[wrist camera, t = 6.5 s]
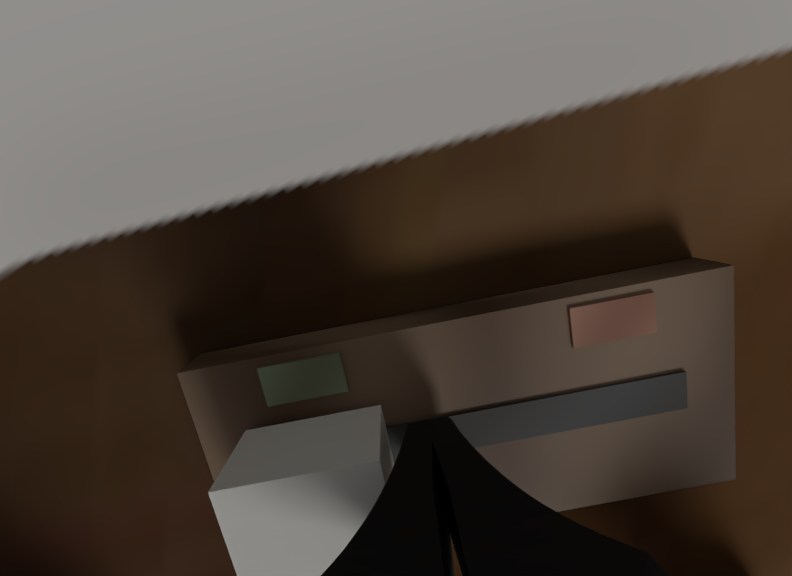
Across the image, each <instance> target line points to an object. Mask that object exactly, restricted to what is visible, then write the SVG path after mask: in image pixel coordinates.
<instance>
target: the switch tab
mask: <svg viewBox="0 0 792 576" xmlns="http://www.w3.org/2000/svg"><path fill="white" fill-rule="evenodd" d="M393 466H394V460H393V456H392V451H391V447H390V443H389V438H388V434H387V429H386V425H385V420H384V416H383V411H382V407H381V405H377V406H372V407H366V408H361V409H356V410H351V411H345V412H340V413H335V414H330V415H324V416H319V417H314V418H309V419H303V420H298V421H293V422H288V423H282V424H277V425H272V426H267V427H261V428H256V429H251V430H246V431H245V432H244V434H243V436H242V437H241V439H240V441H239V442H238V444H237V445H236V447H235V449H234V450H233V452H232V454H231V455H230V457H229V459H228V460H227V462H226V464H225V465H224V467H223V469H222V470H221V472H220V474H219V475H218V477H217V479H216V480H215V482H214V483H213V485H212V487H211V488H210V490H209V492H208V494H209V497H210V500H211V502H212V505H213V508H214V511H215V514H216V517H217V520H218V522H219V525H220V528H221V531H222V534H223V537H224V540H225V542H226V545H227V548H228V551H229V554H230V557H231V560H232V562H233V565H234V568H235V571H236V574H237V576H321V575H322V574H323V573H324V572H325V570H326V569H327V568H328V567H329V566H330V565H331V564H332V563H333V561H334V560H335V559H336V558H337V557H338V556H339V555H340V553H341V552H342V551H343V550H344V548H345V547H346V546H347V544H348V543H349V542H350V540H351V539H352V538H353V536H354V535H355V533H356V532H357V531H358V529H359V528H360V526H361V525H362V524H363V522H364V520H365V519H366V517H367V516H368V514H369V513H370V511H371V509H372V508H373V506H374V504H375V503H376V501H377V499H378V497H379V495H380V493H381V491H382V489H383V487H384V485H385V483H386V481H387V479H388V477H389V475H390V473H391V471H392V468H393Z"/></svg>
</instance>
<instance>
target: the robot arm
mask: <svg viewBox="0 0 792 576" xmlns="http://www.w3.org/2000/svg"><path fill="white" fill-rule="evenodd" d="M450 534H451V537H452V541H453V544H454V548H455V551H456V554H457V558H458V561H459V565H460V568H461V572H462V575H463V576H669V575H668V574H667V573H666V571H665V570H664V569H663V568H662V567H661V566H660V565H659V564H658V563H657V562H656V561H655V560H654V559H653V558H652V556H651V555H650V554H648V553H647V552H644V551H642V550H639V549H637V548H634V547H631V546H629V545H626V544H624V543H621V542H619V541H616V540H614V539H611V538H609V537H606V536H604V535H601V534H599V533H597V532H595V531H593V530H591V529H588V528H586V527H584V526H582V525H580V524H578V523H576V522H574V521H572V520H570V519H568V518H566V517H565V516H563V515H561V514H559V513H558V512H556V511H554V510H553V509H551V508H549V507H547V506H546V505H544V504H542V503H541V502H539V501H538V500H536V499H535V498H533V497H532V496H530V495H529V494H527V493H526V492H524V491H523V490H522V489H520V488H519V487H518V486H516V485H515V484H514V483H512V482H511V481H510V480H509V479H507V478H506V477H505V476H504V475H503V474H501V473H500V472H499V471H498V470H497V469H496V468H495V467H494V466H492V465H491V464H490V463H489V462H488V461H487V460H486V459H485V458H484V457H483V456H482V455H481V454H480V453H479V452H478V451H477V450H476V449H475V448H474V447H473V446H472V445H471V444H470V442H469V441H468V440H467V439H466V438H465V437H464V435H463V434H462V433H461V432H460V430H459V429H458V428H457V426H456V425H455V423H454V422H453V420H452V419H451V418H449V417H448V416H447V417H441V418H436V419H431V420H425V421H420V422H415V423H410V424H408V426H407V427H406V430H405V434H404V438H403V442H402V445H401V448H400V451H399V453H398V456H397V458H396V461H395V463H394V466H393V468H392V471H391V473H390V475H389V477H388V479H387V481H386V483H385V485H384V487H383V489H382V491H381V493H380V495H379V497H378V499H377V501H376V503H375V504H374V506H373V508H372V509H371V511H370V513H369V514H368V516H367V517H366V519H365V520H364V522H363V524H362V525H361V526H360V528H359V529H358V531H357V532H356V533H355V535H354V536H353V538H352V539H351V540H350V542H349V543H348V544H347V546H346V547H345V548H344V550H343V551H342V552H341V553H340V555H339V556H338V557H337V558H336V559H335V560H334V561H333V563H332V564H331V565H330V566H329V567H328V568H327V569H326V570H325V572H324V573H323V574H322V575H321V576H454V568H453V558H452V547H451V537H450Z"/></svg>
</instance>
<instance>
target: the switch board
mask: <svg viewBox="0 0 792 576" xmlns="http://www.w3.org/2000/svg"><path fill="white" fill-rule="evenodd" d="M177 375H178V378H179V381H180V384H181V387H182V390H183V393H184V395H185V398H186V401H187V404H188V407H189V410H190V413H191V416H192V419H193V422H194V425H195V427H196V430H197V433H198V436H199V439H200V442H201V445H202V448H203V451H204V454H205V457H206V459H207V462H208V465H209V468H210V471H211V474H212V477H213V480H214V482H215V480H216V479H217V477H218V475H219V474H220V472H221V470H222V469H223V467H224V465H225V464H226V462H227V460H228V459H229V457H230V455H231V454H232V452H233V450H234V449H235V447H236V445H237V444H238V442H239V441H240V439H241V437H242V436H243V434H244V432H245V431H246V430H251V429H256V428H261V427H267V426H272V425H277V424H282V423H288V422H293V421H298V420H303V419H309V418H314V417H319V416H324V415H330V414H335V413H340V412H345V411H351V410H356V409H361V408H366V407H372V406H377V405H381V407H382V411H383V416H384V420H385V425H386V429H387V434H388V438H389V443H390V447H391V451H392V456H393V460H394V463H395V461H396V458H397V456H398V453H399V451H400V448H401V445H402V442H403V438H404V434H405V430H406V427H407V426H408V424H410V423H415V422H420V421H425V420H431V419H436V418H441V417H447V416H448V417H449V418H451V419H452V420H453V422H454V423H455V425H456V426H457V428H458V429H459V430H460V432H461V433H462V434H463V435H464V437H465V438H466V439H467V440H468V441H469V442H470V444H471V445H472V446H473V447H474V448H475V449H476V450H477V451H478V452H479V453H480V454H481V455H482V456H483V457H484V458H485V459H486V460H487V461H488V462H489V463H490V464H491V465H492V466H494V467H495V468H496V469H497V470H498V471H499V472H500V473H501V474H503V475H504V476H505V477H506V478H507V479H509V480H510V481H511V482H512V483H514V484H515V485H516V486H518V487H519V488H520V489H522V490H523V491H524V492H526V493H527V494H529V495H530V496H532V497H533V498H535V499H536V500H538V501H539V502H541V503H542V504H544V505H546V506H547V507H549V508H551V509H553V510H554V511H556V512H559V511H565V510H570V509H575V508H581V507H586V506H592V505H597V504H603V503H608V502H614V501H619V500H625V499H630V498H635V497H641V496H646V495H652V494H657V493H663V492H668V491H674V490H679V489H685V488H690V487H695V486H701V485H706V484H712V483H717V482H723V481H728V480H734V479H735V335H734V265H730V264H725V263H720V262H715V261H710V260H704V259H699V258H694V257H693V258H688V259H683V260H678V261H673V262H668V263H663V264H657V265H652V266H647V267H642V268H637V269H632V270H627V271H622V272H616V273H611V274H606V275H601V276H596V277H591V278H586V279H581V280H575V281H570V282H565V283H560V284H555V285H550V286H545V287H540V288H534V289H529V290H524V291H519V292H514V293H509V294H504V295H498V296H493V297H488V298H483V299H478V300H473V301H468V302H463V303H457V304H452V305H447V306H442V307H437V308H432V309H427V310H422V311H416V312H411V313H406V314H401V315H396V316H391V317H386V318H381V319H375V320H370V321H365V322H360V323H355V324H350V325H345V326H339V327H334V328H329V329H324V330H319V331H314V332H309V333H304V334H298V335H293V336H288V337H283V338H278V339H273V340H268V341H263V342H257V343H252V344H247V345H242V346H237V347H232V348H227V349H222V350H216V351H211V352H206V353H201V354H200V355H198V356H197V357H196V358H195V359H194V360H192V361H191V362H190V363H189V364H188V365H186V366H185V367H184V368H183V369H182V370H180V371H179V372H178V373H177Z"/></svg>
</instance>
